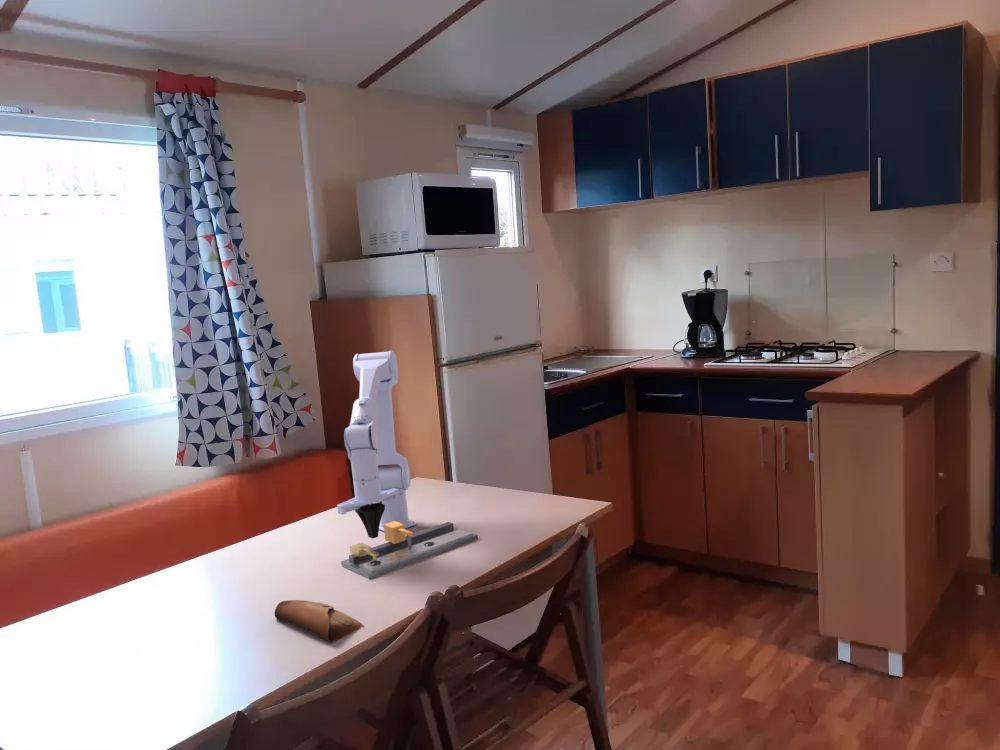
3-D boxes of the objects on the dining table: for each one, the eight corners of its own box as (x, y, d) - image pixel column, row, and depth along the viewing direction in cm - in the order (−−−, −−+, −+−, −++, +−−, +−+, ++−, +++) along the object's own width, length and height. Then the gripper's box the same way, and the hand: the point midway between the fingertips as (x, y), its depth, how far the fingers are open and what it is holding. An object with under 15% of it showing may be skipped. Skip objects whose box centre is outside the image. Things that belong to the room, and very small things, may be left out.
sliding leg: (385, 543, 181) (383, 524, 181) (396, 539, 183) (394, 520, 183) (407, 551, 174) (404, 532, 174) (418, 547, 176) (416, 528, 176)
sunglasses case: (368, 624, 144) (349, 601, 141) (343, 657, 141) (323, 634, 137) (312, 603, 157) (293, 581, 153) (287, 632, 153) (268, 611, 150)
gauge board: (341, 565, 176) (339, 548, 175) (447, 528, 194) (446, 513, 193) (369, 579, 166) (367, 560, 166) (478, 539, 184) (476, 522, 184)
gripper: (345, 488, 168) (353, 550, 169) (403, 472, 177) (410, 531, 178) (329, 483, 173) (337, 543, 175) (387, 468, 182) (393, 525, 184)
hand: (373, 536), depth 177 cm, fingers closed
